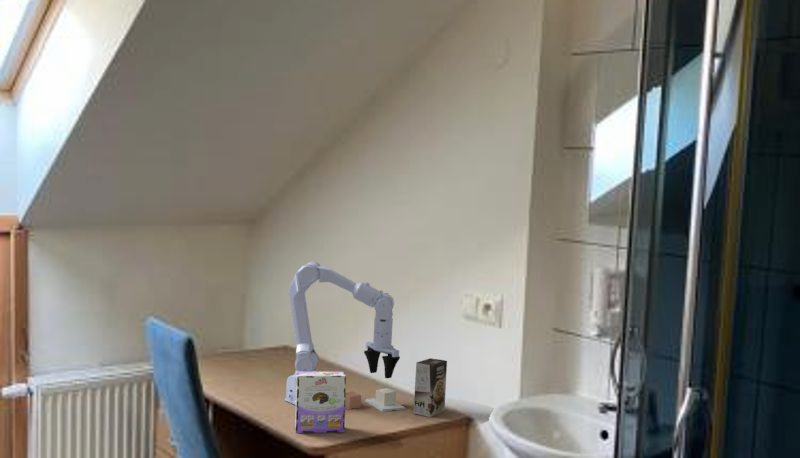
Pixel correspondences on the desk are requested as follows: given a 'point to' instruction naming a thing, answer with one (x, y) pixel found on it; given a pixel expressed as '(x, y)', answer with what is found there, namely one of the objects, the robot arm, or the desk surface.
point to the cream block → (385, 396)
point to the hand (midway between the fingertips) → (380, 375)
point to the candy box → (320, 402)
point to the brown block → (352, 400)
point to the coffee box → (430, 387)
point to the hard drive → (385, 408)
